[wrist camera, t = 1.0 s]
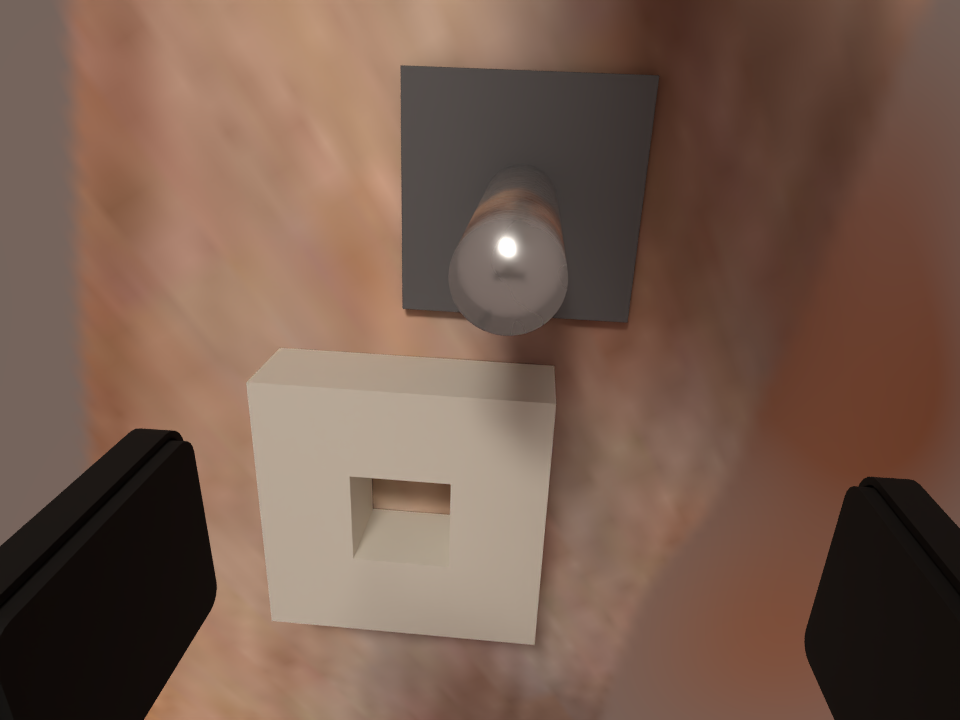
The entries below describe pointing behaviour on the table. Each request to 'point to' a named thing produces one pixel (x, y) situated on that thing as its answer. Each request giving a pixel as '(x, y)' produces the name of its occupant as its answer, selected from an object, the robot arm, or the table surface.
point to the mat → (532, 141)
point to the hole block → (408, 457)
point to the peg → (511, 255)
